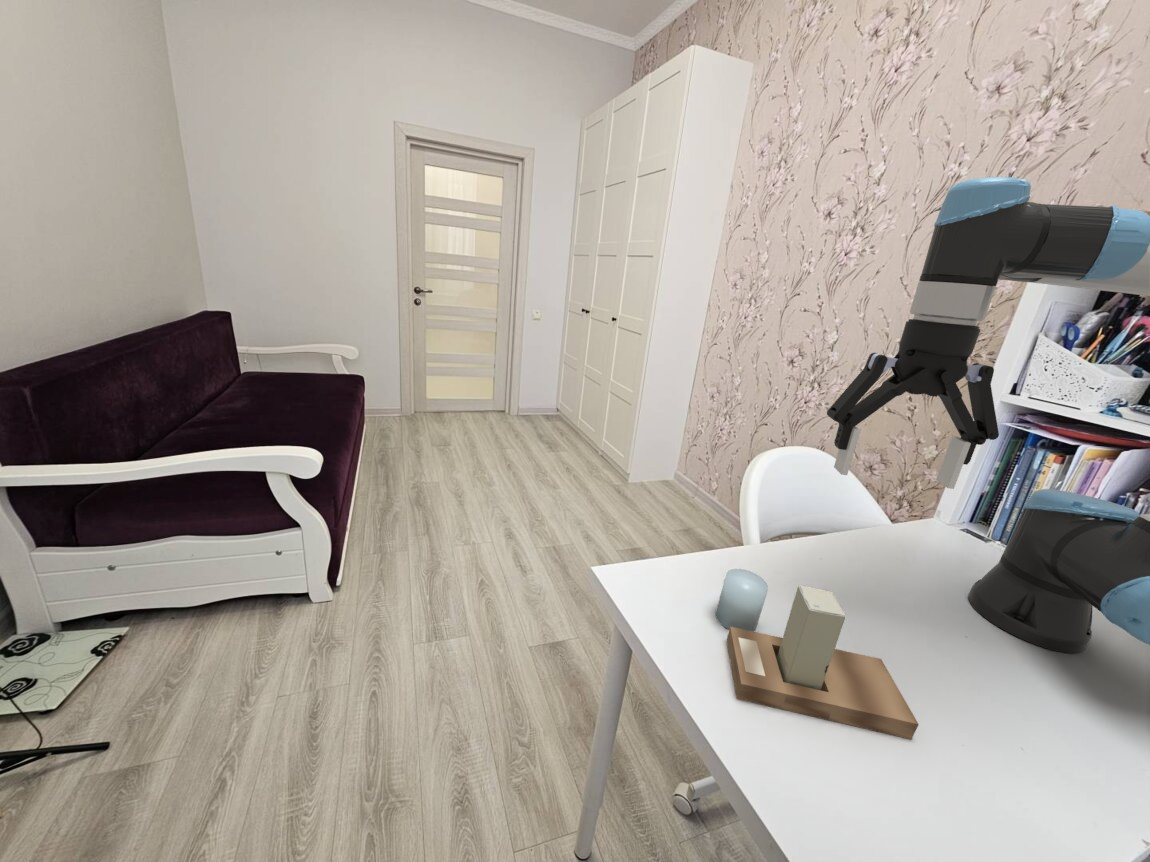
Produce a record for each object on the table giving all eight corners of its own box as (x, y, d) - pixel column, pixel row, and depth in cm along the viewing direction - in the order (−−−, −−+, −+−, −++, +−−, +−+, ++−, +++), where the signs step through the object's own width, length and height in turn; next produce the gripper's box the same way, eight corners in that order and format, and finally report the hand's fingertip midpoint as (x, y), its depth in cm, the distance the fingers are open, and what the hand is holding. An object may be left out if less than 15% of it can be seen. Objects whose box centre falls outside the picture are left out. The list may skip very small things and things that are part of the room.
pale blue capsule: (751, 610, 74) (762, 572, 72) (760, 637, 69) (773, 598, 66) (712, 603, 75) (722, 565, 72) (718, 629, 69) (729, 590, 67)
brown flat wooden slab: (875, 672, 65) (881, 658, 64) (911, 739, 55) (919, 723, 54) (726, 640, 67) (730, 626, 66) (736, 698, 58) (741, 683, 57)
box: (817, 702, 59) (849, 618, 55) (781, 693, 59) (809, 610, 55) (806, 669, 64) (833, 590, 60) (772, 661, 64) (797, 583, 60)
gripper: (1029, 327, 60) (971, 478, 67) (827, 308, 63) (790, 456, 70) (1081, 334, 53) (1009, 502, 60) (850, 312, 56) (807, 476, 63)
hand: (891, 478), depth 65 cm, fingers open, 13 cm apart
